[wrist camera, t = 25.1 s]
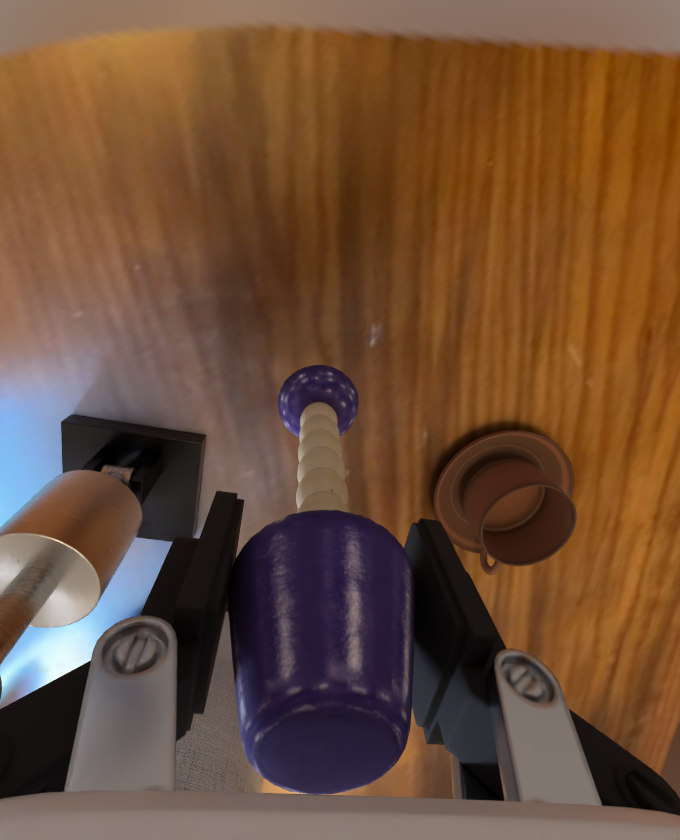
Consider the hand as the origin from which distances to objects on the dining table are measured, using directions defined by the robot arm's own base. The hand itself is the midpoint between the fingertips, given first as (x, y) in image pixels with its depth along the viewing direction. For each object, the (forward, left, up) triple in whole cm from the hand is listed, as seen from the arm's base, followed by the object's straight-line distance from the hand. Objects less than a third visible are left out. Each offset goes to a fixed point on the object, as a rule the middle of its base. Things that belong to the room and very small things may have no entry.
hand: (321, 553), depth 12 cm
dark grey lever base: (+12, -12, -22) cm, 28 cm away
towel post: (+10, -12, -19) cm, 24 cm away
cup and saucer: (+8, +18, -22) cm, 30 cm away
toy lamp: (0, 0, -12) cm, 12 cm away
